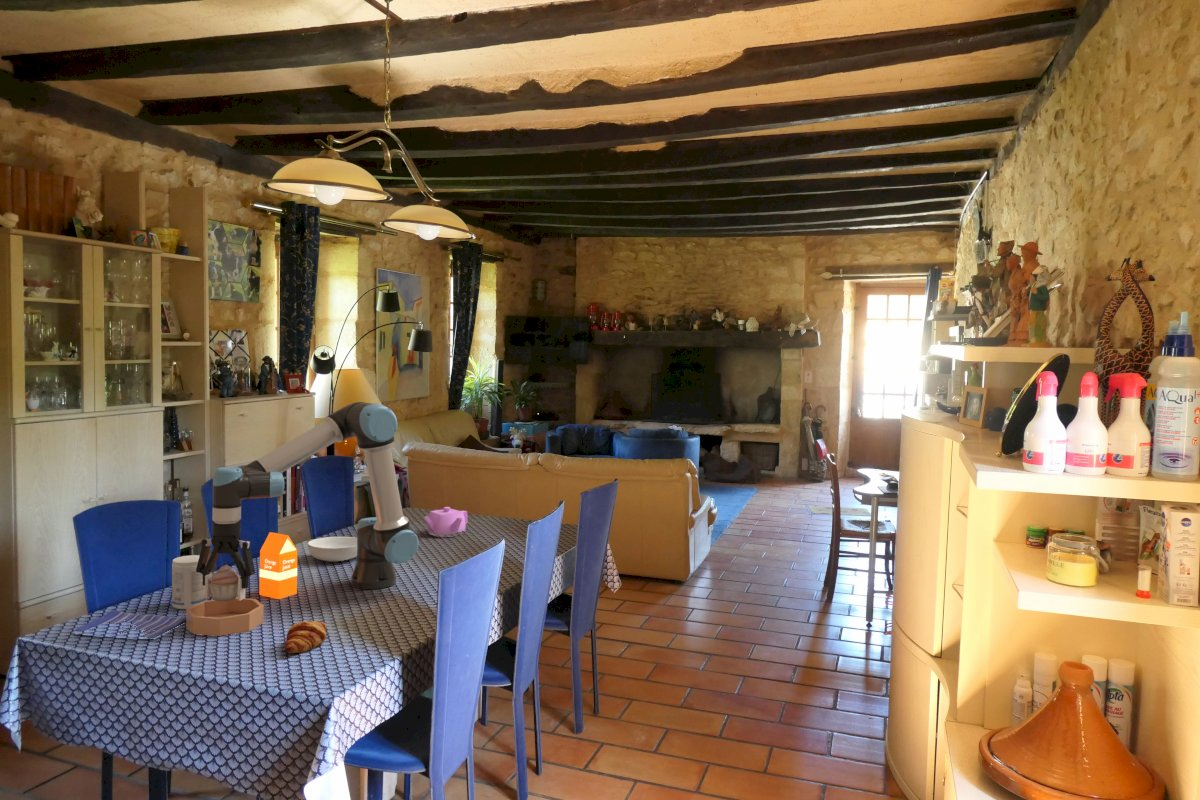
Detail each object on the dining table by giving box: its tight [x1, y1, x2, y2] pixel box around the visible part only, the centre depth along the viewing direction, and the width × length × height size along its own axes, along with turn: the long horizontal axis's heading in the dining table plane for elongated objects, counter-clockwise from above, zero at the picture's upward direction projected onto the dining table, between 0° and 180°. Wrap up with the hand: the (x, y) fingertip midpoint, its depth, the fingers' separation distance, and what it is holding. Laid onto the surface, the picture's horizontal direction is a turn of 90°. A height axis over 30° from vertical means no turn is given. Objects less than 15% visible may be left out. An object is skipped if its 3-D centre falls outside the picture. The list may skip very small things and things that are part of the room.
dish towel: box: [74, 609, 186, 638], centre depth 230 cm, size 17×24×3 cm
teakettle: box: [423, 506, 469, 535], centre depth 362 cm, size 17×17×12 cm
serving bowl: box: [307, 536, 357, 563], centre depth 313 cm, size 21×21×7 cm
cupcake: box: [207, 564, 241, 601], centre depth 235 cm, size 9×9×10 cm
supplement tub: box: [171, 554, 208, 610], centre depth 251 cm, size 10×10×15 cm
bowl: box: [185, 597, 265, 637], centre depth 235 cm, size 19×19×5 cm
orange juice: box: [259, 531, 298, 600], centre depth 266 cm, size 8×9×20 cm
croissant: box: [283, 620, 327, 654], centre depth 223 cm, size 21×10×8 cm, turn 175°
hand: (225, 597), depth 235 cm, fingers closed on cupcake, 9 cm apart
